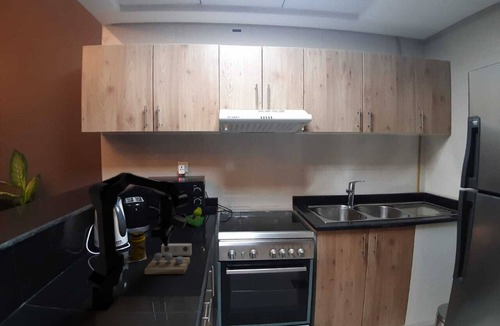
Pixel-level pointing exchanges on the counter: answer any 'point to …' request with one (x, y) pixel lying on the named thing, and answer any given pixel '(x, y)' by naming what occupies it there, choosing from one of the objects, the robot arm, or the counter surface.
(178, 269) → the board
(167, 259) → the button mid
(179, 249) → the white flat bar
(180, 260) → the button right
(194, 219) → the fruit basket
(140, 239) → the condiment
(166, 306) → the counter surface
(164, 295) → the counter surface
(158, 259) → the button left
